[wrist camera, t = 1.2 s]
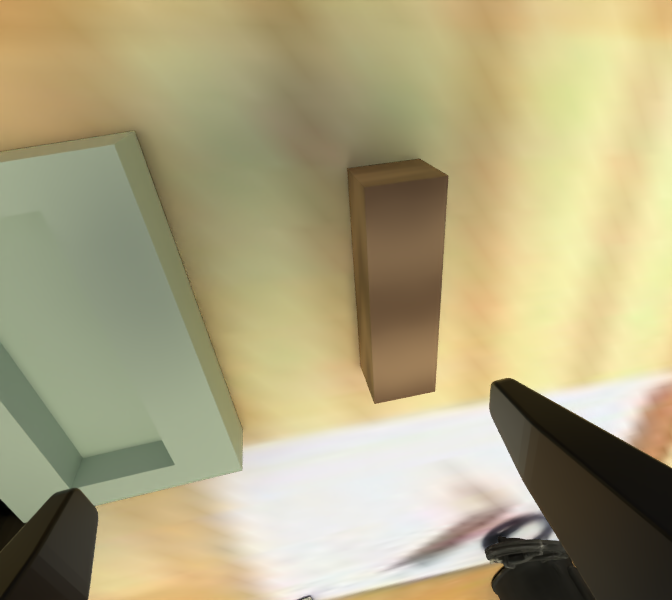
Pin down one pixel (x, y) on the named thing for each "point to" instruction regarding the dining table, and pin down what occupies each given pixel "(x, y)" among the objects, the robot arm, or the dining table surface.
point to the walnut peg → (398, 273)
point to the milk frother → (536, 571)
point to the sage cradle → (100, 334)
